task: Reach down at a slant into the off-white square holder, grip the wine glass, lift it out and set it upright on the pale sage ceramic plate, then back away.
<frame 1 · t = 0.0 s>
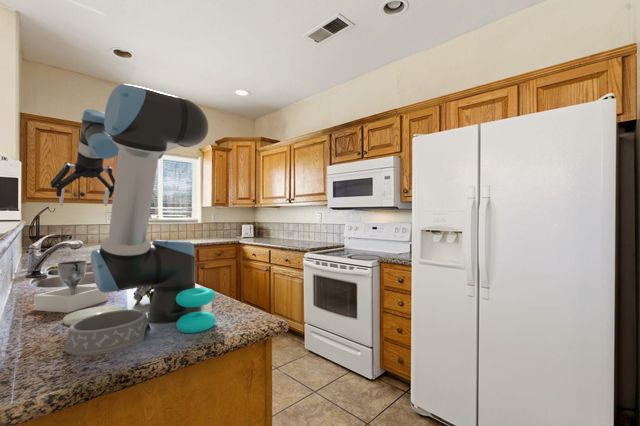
hand: (83, 203, 118), 36 cm above the counter, tool tilted 35°, fingers open, 13 cm apart
dog bowl: (110, 340, 79), on the counter
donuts: (196, 328, 86), on the counter
wine glass: (73, 305, 110), resting in holder
holder: (73, 304, 110), on the counter
plate: (94, 316, 96), on the counter
passion flower: (150, 303, 110), on the counter
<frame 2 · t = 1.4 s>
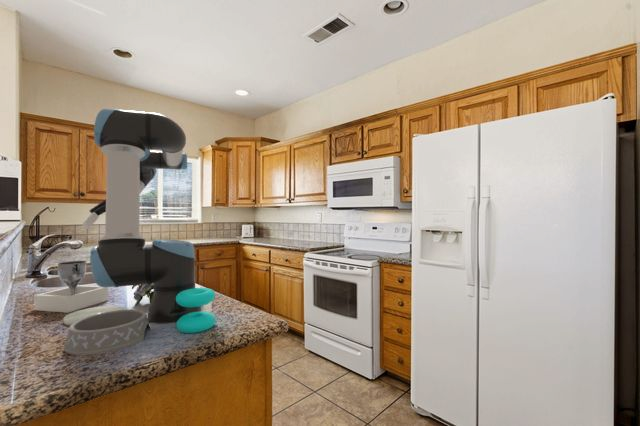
hand: (99, 226, 120), 27 cm above the counter, tool tilted 45°, fingers open, 13 cm apart
nothing on the counter moved.
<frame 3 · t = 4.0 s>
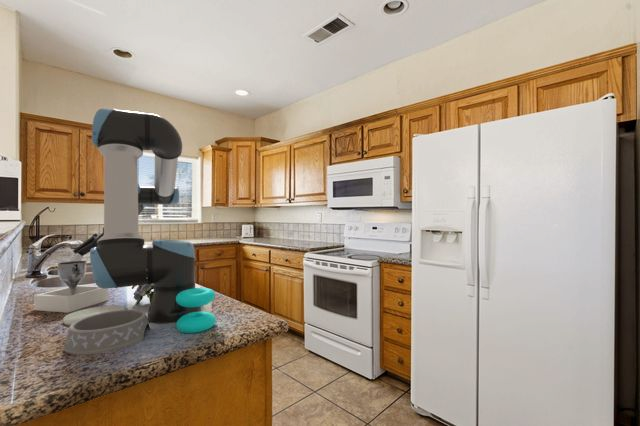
hand: (82, 270, 114), 11 cm above the counter, tool tilted 45°, fingers open, 13 cm apart
nothing on the counter moved.
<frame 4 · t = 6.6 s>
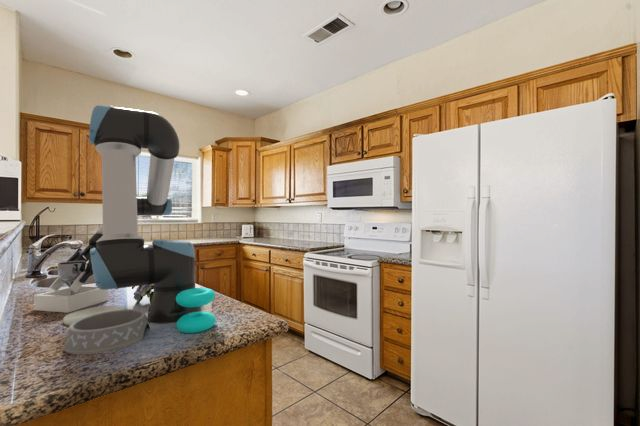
hand: (62, 289, 106), 6 cm above the counter, tool tilted 45°, fingers closed on wine glass, 8 cm apart
wine glass: (73, 305, 110), resting in holder, touching gripper
everything else where it was.
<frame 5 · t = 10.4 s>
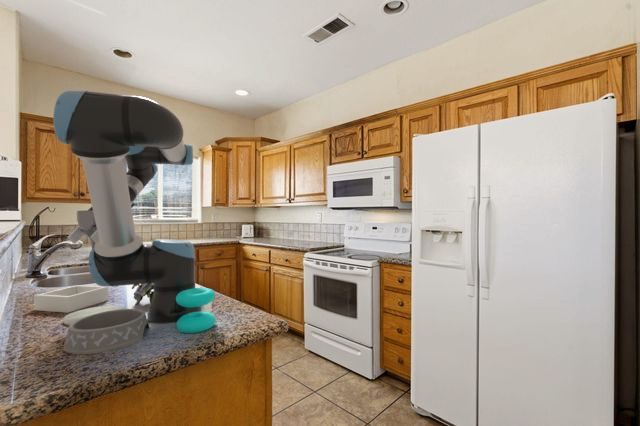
hand: (82, 240, 93), 24 cm above the counter, tool tilted 45°, fingers closed on wine glass, 8 cm apart
wine glass: (93, 259, 97), point 18 cm above the counter, touching gripper
everything else where it was.
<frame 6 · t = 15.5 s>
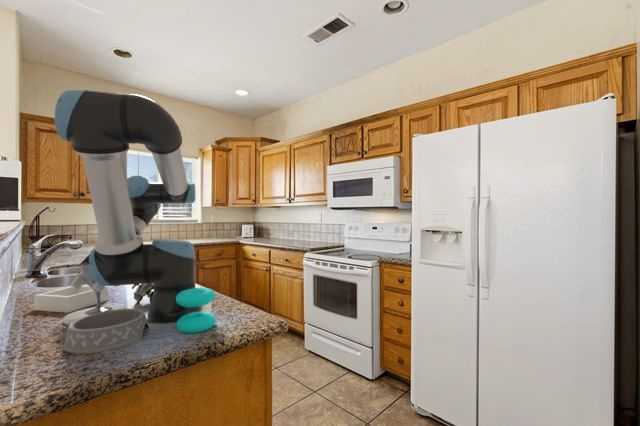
hand: (85, 288, 95), 9 cm above the counter, tool tilted 45°, fingers closed on wine glass, 8 cm apart
wine glass: (99, 310, 98), point 1 cm above the counter, touching gripper
when the fingers open (9 cm above the counter, at t = 15.5 s): wine glass stays where it is, resting on plate.
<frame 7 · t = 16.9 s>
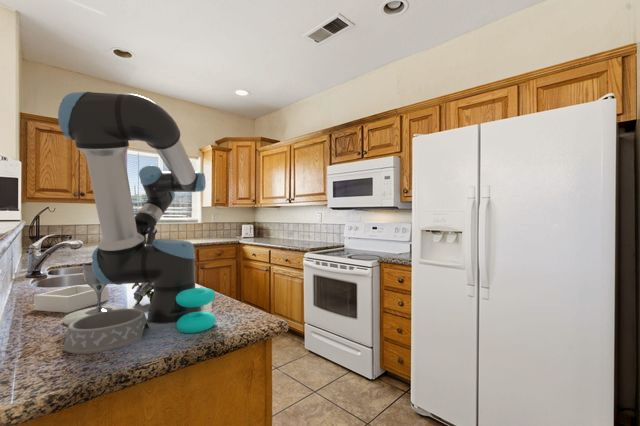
hand: (113, 265, 103), 15 cm above the counter, tool tilted 45°, fingers open, 13 cm apart
wine glass: (99, 311, 98), point 1 cm above the counter, touching plate
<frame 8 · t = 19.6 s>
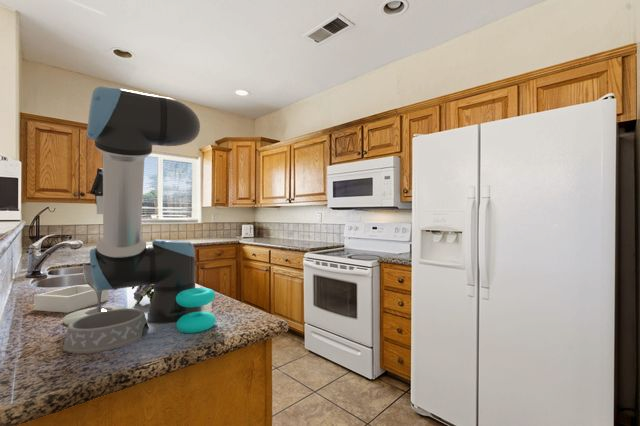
hand: (116, 213, 111), 32 cm above the counter, tool pointing down, fingers open, 13 cm apart
at the end: wine glass inside the target area on the plate (2.1 cm from its centre), point 1.0 cm above the plate's base; wine glass tilted 0°; the gripper is holding nothing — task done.
